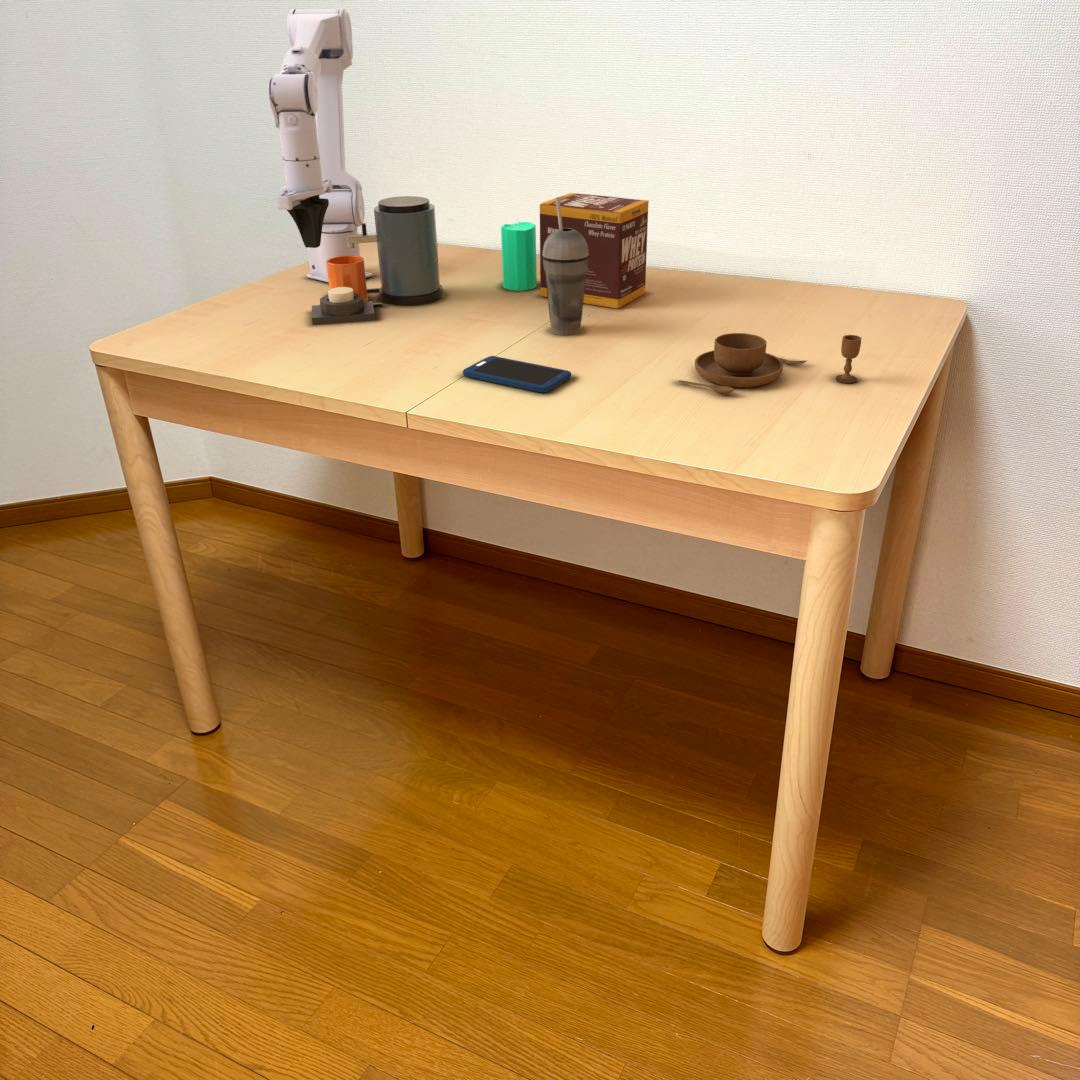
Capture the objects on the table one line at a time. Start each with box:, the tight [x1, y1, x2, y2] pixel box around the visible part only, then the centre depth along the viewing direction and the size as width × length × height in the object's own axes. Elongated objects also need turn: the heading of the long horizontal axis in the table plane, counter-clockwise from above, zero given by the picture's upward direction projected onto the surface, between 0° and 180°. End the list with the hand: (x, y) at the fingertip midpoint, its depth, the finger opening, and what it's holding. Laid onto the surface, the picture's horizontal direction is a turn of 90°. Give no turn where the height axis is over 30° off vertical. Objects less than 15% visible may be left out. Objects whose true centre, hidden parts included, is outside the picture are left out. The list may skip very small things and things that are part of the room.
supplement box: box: [539, 192, 650, 309], centre depth 171 cm, size 10×15×16 cm
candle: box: [500, 220, 538, 292], centre depth 177 cm, size 6×6×12 cm
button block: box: [311, 293, 376, 326], centre depth 166 cm, size 10×7×3 cm
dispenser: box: [347, 195, 444, 309], centre depth 171 cm, size 19×11×16 cm, turn 101°
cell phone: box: [462, 355, 572, 394], centre depth 141 cm, size 7×14×1 cm, turn 58°
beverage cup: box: [541, 196, 590, 336], centre depth 153 cm, size 7×7×20 cm
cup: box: [326, 255, 369, 302], centre depth 172 cm, size 6×6×7 cm
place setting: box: [677, 332, 862, 394], centre depth 136 cm, size 18×20×6 cm
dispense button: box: [327, 287, 354, 303], centre depth 165 cm, size 4×4×2 cm
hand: (312, 246), depth 165 cm, fingers closed
